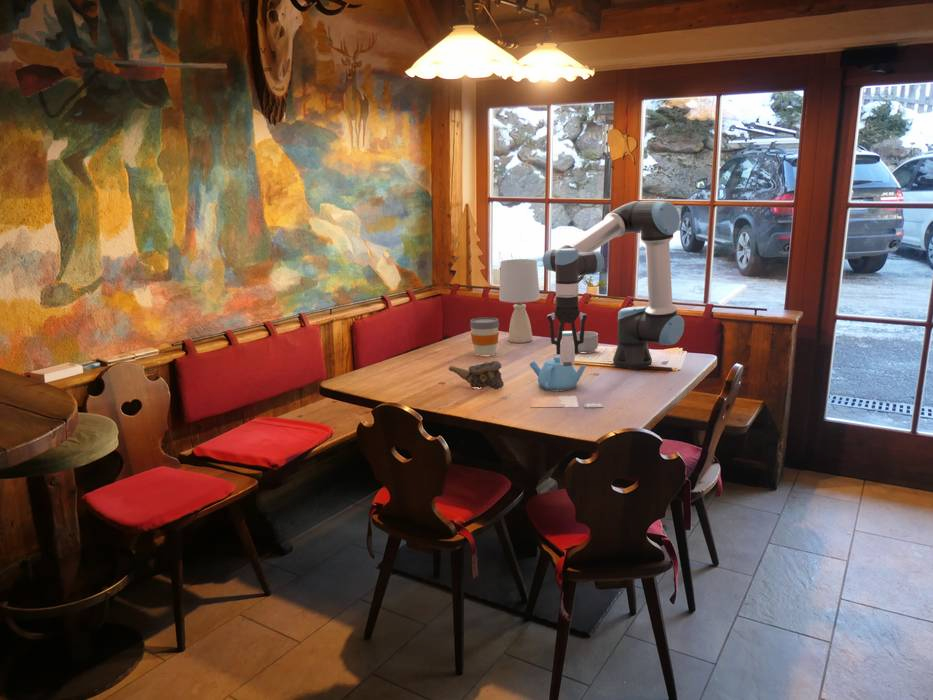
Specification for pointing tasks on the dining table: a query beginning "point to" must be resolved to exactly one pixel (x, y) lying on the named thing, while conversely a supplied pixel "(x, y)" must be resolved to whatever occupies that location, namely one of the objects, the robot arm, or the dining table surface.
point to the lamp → (519, 294)
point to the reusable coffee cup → (484, 335)
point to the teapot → (557, 374)
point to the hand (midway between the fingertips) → (567, 363)
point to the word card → (593, 405)
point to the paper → (569, 401)
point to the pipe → (481, 375)
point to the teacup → (588, 341)
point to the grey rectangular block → (567, 348)
